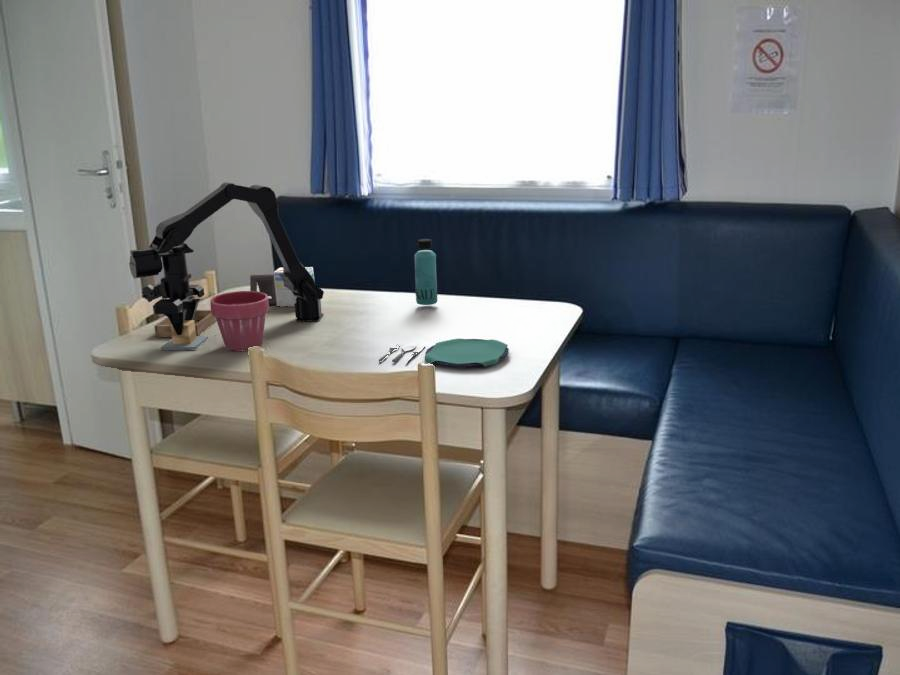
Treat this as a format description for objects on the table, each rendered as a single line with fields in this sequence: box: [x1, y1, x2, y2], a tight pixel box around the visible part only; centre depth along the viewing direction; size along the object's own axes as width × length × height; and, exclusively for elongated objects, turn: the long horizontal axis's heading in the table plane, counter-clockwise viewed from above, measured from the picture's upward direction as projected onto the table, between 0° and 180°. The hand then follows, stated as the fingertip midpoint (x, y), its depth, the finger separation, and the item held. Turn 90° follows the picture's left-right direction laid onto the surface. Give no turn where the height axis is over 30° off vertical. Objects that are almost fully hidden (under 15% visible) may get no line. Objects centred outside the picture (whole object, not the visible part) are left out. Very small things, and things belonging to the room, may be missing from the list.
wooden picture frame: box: [154, 309, 217, 338], centre depth 225 cm, size 12×16×3 cm
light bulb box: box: [273, 266, 315, 308], centre depth 245 cm, size 11×7×11 cm, turn 84°
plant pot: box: [209, 290, 270, 352], centre depth 207 cm, size 14×14×13 cm
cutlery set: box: [378, 338, 510, 367], centre depth 197 cm, size 20×30×2 cm, turn 75°
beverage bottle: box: [413, 238, 438, 306], centre depth 236 cm, size 6×7×20 cm
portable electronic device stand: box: [249, 273, 277, 306], centre depth 248 cm, size 9×8×8 cm
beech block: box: [171, 320, 197, 344], centre depth 211 cm, size 4×4×5 cm
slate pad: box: [160, 335, 209, 351], centre depth 211 cm, size 9×9×1 cm
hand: (183, 331), depth 210 cm, fingers open, 5 cm apart
